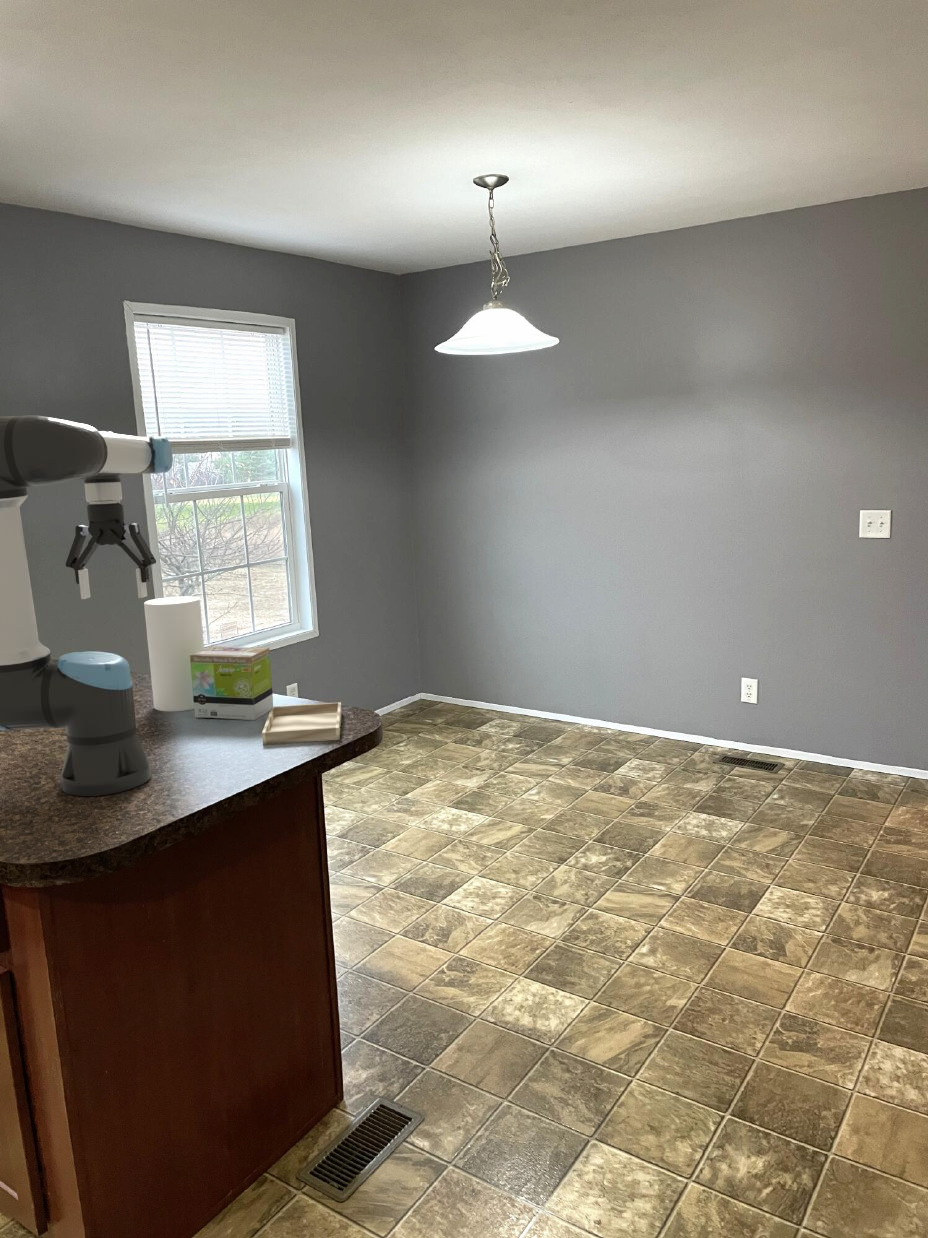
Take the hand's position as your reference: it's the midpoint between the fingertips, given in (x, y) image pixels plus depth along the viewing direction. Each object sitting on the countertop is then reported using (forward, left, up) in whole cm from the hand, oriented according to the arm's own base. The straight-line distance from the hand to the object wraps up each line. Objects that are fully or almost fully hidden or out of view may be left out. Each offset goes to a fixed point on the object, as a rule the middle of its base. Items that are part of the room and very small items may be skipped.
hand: (114, 597), depth 209 cm
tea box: (-6, -25, -27) cm, 38 cm away
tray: (-21, -42, -27) cm, 54 cm away
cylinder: (+6, -11, -27) cm, 30 cm away
